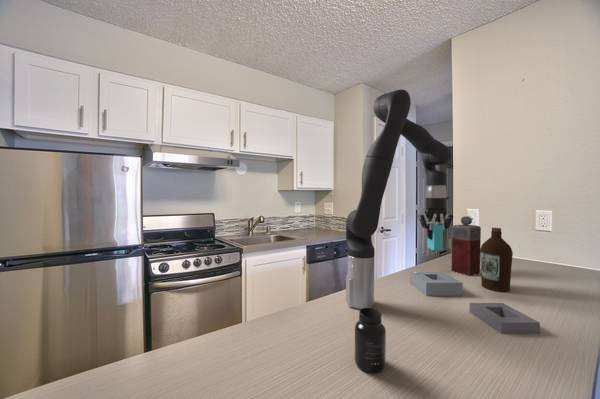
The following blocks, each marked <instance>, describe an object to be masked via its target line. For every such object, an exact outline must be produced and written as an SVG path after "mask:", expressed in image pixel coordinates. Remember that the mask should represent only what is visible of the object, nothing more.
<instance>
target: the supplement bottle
mask: <svg viewBox="0 0 600 399" xmlns="http://www.w3.org/2000/svg"><path fill="white" fill-rule="evenodd" d="M358 311H359V312H358V314H359V315H358V321H356V323H355V325H354V362H355V364H356V366H357V367H358V368H359V369H360V370H361V369H362V371H363V372H365V371H366V373H369V374H377V373H381V372H382V371H384V369H385V368H386V359H387V358H386V352H387V350H386V348H387V347H386V346H387V345H386V344H387V342H386V340H387V337H386V335H387V334H386V333H387V330H386V327H385V325H384V324H383V323H382V313H381V311H379V310H378V309H376V308H373V307H372V308H363V309H359V310H358Z"/></svg>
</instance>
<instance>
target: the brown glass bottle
mask: <svg viewBox="0 0 600 399" xmlns="http://www.w3.org/2000/svg"><path fill="white" fill-rule="evenodd" d="M490 231H491V233H490V234H491V235H490V237H489V238H488V239H486V240H485V241H484V242H483V243H482V245H480V275H481V277H480V278H481V279H480V280H481V287H482V288H484V289H486V290H490V291H492V290H493V291H492V292H498V291H499V292H498V293H508V292H510V291H511V276H512V264H513V254H514V252H513V248H512V247H511V246H510V245H509V243H508V242H506V241H505V240H504V239H503V237H502V236H503V235H502V234H503V233H502V228H501V227H491V230H490Z"/></svg>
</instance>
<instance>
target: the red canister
mask: <svg viewBox="0 0 600 399" xmlns="http://www.w3.org/2000/svg"><path fill="white" fill-rule="evenodd" d="M460 222H461V224H454V225H452V226H451V269H450V270H451V272H453V271H454V272H453V273H456V272H457V273H458V274H460V273H461V275H464V274H465V275H464V276H467V275H468V277H471V276H470V275H472V276H475V275H474V274H476V275H480V274H481V253H480V249H481V243H482V242H481V239H482V238H481V237H482V236H481V235H482V228H481V226H479V225H471V224H472V222H473V219H472V218H471V216H468V215H467V216H462V217H461V219H460ZM479 273H480V274H479Z"/></svg>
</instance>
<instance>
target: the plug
mask: <svg viewBox="0 0 600 399" xmlns="http://www.w3.org/2000/svg"><path fill="white" fill-rule="evenodd" d="M432 230H433V233H432V239H428V238H427V248H428V249H430V250H432V251H444V237H443V225H439V224H437V223H434V225H433V228H432Z"/></svg>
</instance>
